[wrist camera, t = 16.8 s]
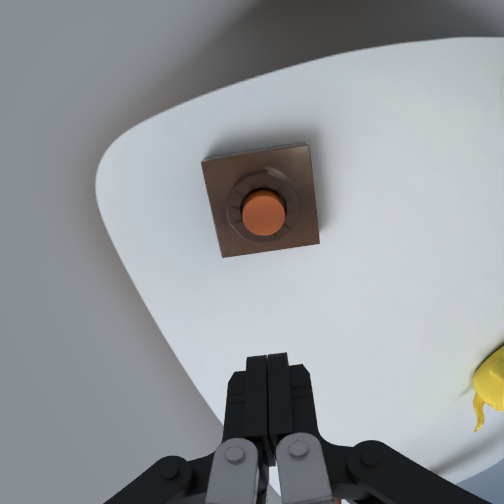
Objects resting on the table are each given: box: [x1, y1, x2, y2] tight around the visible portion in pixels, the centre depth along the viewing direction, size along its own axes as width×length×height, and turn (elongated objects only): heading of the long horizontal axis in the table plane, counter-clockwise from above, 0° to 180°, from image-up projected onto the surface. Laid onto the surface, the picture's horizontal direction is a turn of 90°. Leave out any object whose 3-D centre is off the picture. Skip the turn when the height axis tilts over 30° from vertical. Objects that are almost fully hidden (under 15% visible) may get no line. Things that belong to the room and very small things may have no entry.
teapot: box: [473, 346, 504, 432], centre depth 40 cm, size 14×13×10 cm
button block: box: [201, 142, 320, 258], centre depth 31 cm, size 10×10×4 cm
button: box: [242, 190, 285, 236], centre depth 28 cm, size 4×4×2 cm
